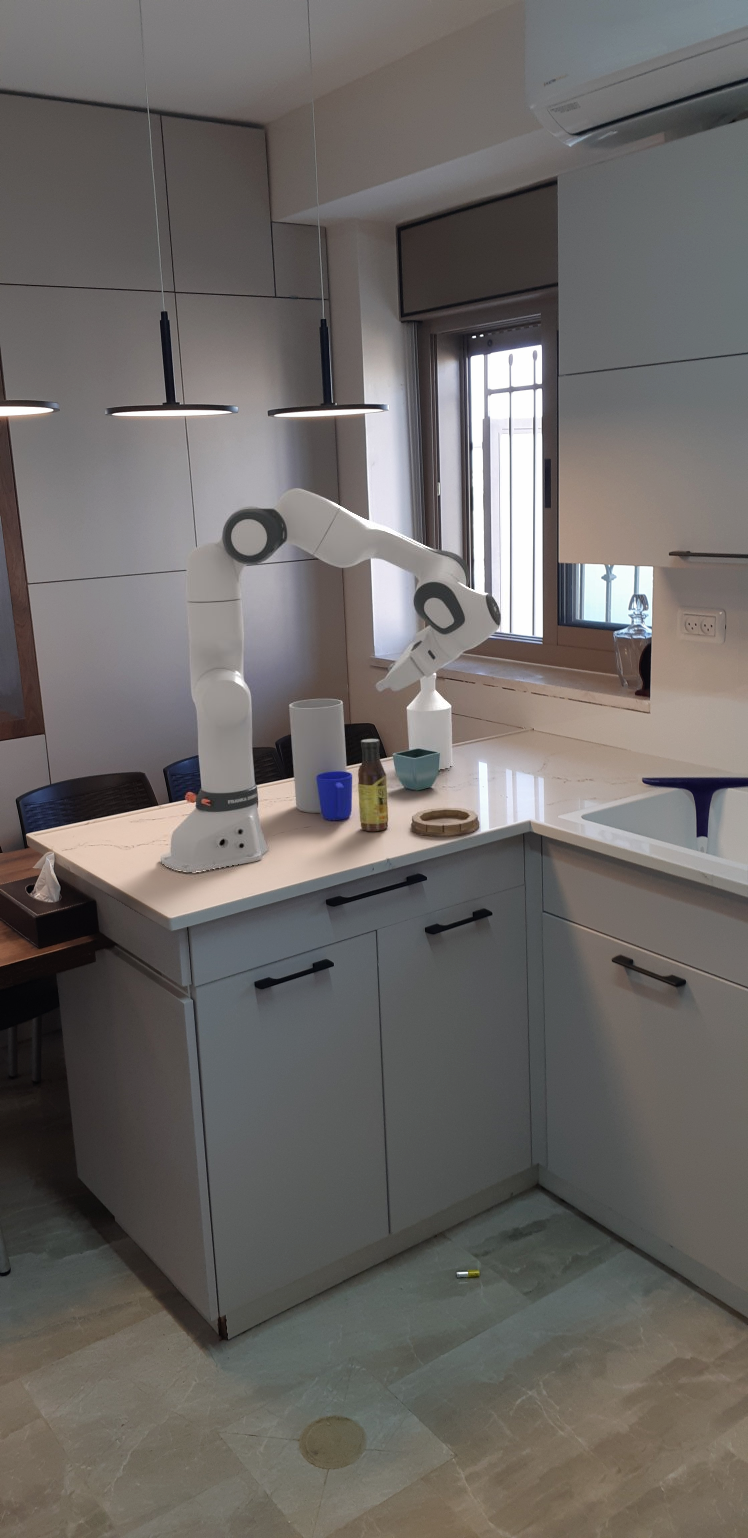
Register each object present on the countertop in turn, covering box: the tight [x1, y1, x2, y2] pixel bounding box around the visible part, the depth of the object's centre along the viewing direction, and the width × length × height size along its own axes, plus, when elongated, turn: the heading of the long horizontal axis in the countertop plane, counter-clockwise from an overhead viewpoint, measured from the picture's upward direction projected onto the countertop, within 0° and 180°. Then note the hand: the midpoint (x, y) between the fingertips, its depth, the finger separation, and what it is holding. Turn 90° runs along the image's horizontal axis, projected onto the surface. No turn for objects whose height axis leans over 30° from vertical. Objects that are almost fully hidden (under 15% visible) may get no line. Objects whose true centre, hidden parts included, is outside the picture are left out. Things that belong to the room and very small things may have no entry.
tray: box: [410, 807, 480, 838], centre depth 254 cm, size 15×15×2 cm
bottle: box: [406, 672, 453, 769], centre depth 309 cm, size 12×12×25 cm
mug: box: [316, 771, 353, 821], centre depth 263 cm, size 8×12×10 cm
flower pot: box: [391, 748, 440, 791], centre depth 288 cm, size 9×9×9 cm
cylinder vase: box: [288, 698, 348, 814], centre depth 273 cm, size 12×12×25 cm
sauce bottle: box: [357, 738, 389, 832], centre depth 254 cm, size 6×6×20 cm
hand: (384, 679), depth 248 cm, fingers open, 8 cm apart
